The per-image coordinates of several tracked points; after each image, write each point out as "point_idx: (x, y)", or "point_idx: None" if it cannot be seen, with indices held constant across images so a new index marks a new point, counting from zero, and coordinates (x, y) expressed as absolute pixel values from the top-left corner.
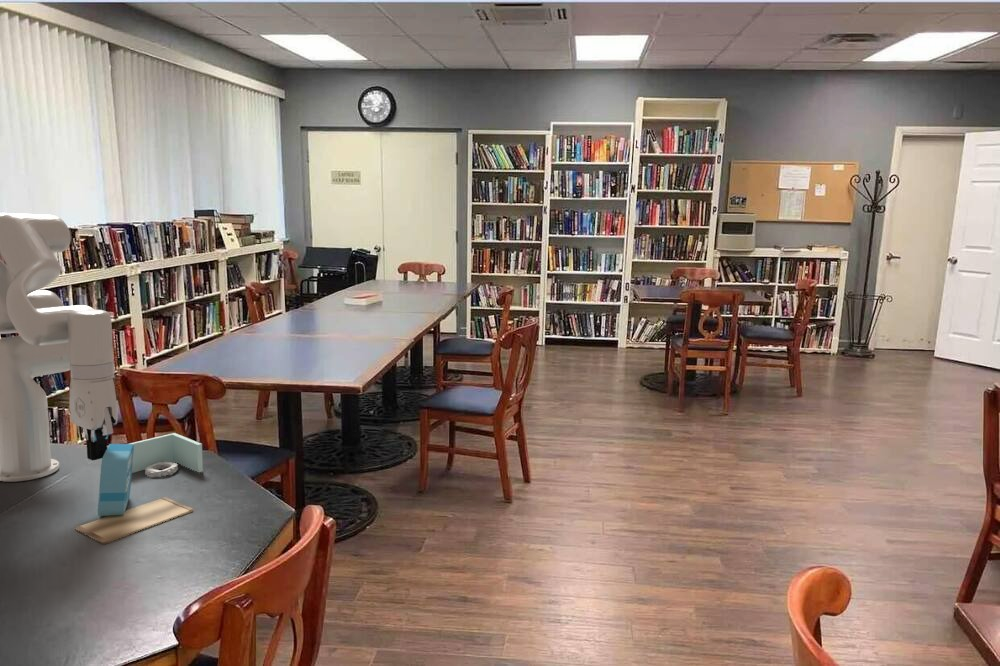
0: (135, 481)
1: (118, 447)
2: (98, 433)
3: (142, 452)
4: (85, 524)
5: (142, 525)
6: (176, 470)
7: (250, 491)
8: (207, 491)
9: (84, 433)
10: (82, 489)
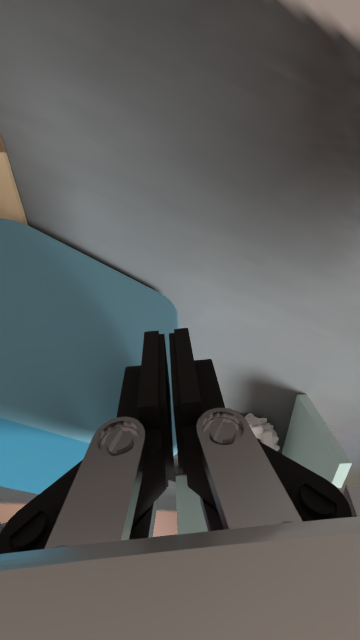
0: (237, 388)
1: (58, 465)
2: (16, 527)
3: (310, 463)
4: (5, 173)
5: None
6: None
7: (6, 493)
8: None
9: (261, 448)
10: (300, 287)
